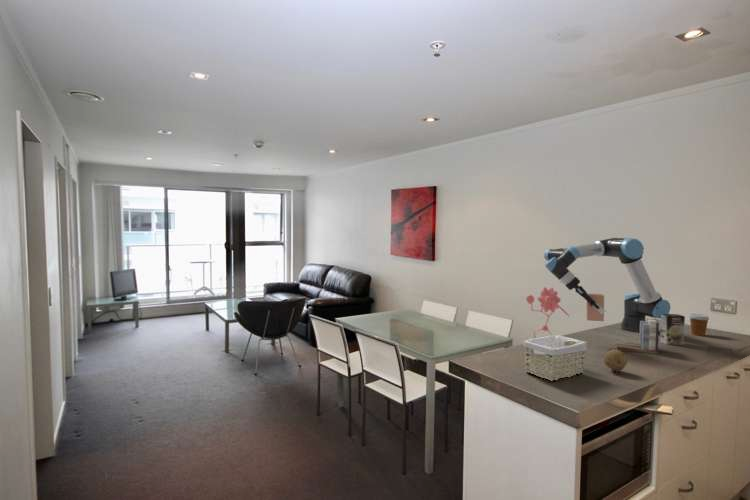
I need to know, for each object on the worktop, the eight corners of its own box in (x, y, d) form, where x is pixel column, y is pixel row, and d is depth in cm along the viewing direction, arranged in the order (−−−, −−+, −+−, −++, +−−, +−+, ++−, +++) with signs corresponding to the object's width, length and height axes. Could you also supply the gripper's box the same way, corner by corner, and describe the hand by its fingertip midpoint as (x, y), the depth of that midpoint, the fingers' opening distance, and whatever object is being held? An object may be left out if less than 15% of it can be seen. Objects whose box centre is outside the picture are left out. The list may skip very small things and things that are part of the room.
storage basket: (555, 364, 193) (556, 333, 193) (588, 374, 179) (589, 341, 179) (521, 373, 181) (521, 340, 181) (552, 384, 167) (553, 349, 167)
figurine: (560, 366, 189) (562, 291, 188) (518, 352, 212) (519, 285, 211) (582, 362, 196) (584, 289, 194) (539, 348, 219) (540, 283, 218)
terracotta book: (586, 318, 229) (586, 293, 228) (602, 319, 225) (603, 294, 225) (587, 320, 224) (587, 294, 223) (603, 321, 221) (604, 295, 220)
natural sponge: (621, 376, 176) (621, 354, 176) (599, 371, 183) (600, 349, 183) (630, 372, 182) (630, 350, 181) (609, 367, 189) (609, 345, 188)
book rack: (614, 344, 227) (614, 314, 226) (652, 347, 220) (653, 317, 219) (617, 350, 216) (618, 319, 215) (657, 354, 209) (658, 322, 208)
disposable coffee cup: (685, 333, 250) (685, 314, 249) (694, 332, 254) (694, 313, 253) (702, 337, 241) (703, 317, 241) (711, 335, 245) (712, 316, 245)
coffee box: (666, 344, 226) (667, 316, 225) (659, 341, 233) (660, 313, 232) (684, 345, 225) (685, 316, 225) (676, 342, 232) (677, 313, 231)
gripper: (564, 283, 238) (595, 313, 232) (565, 287, 222) (599, 319, 216) (574, 274, 236) (606, 304, 230) (576, 277, 219) (610, 310, 214)
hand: (602, 311), depth 223 cm, fingers closed on terracotta book, 5 cm apart
